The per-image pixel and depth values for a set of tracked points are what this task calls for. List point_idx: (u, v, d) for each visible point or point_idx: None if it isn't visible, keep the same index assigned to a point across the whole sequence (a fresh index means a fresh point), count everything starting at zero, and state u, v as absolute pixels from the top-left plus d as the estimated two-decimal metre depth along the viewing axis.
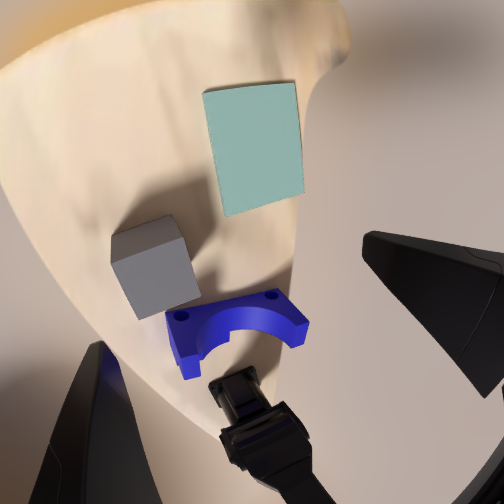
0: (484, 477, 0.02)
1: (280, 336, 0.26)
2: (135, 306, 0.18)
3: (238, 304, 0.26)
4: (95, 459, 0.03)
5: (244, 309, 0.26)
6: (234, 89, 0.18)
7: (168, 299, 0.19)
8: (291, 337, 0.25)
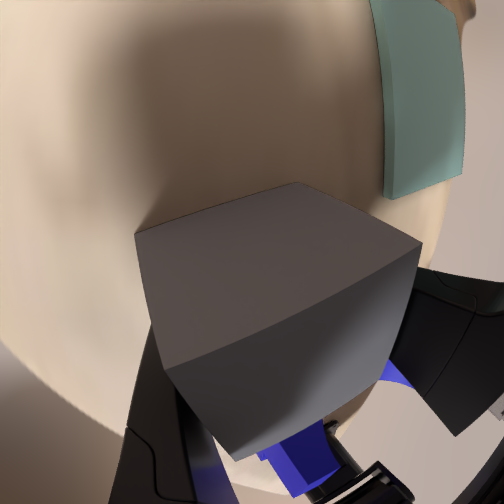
0: (484, 477, 0.02)
1: None
2: (236, 446, 0.05)
3: None
4: (183, 436, 0.04)
5: None
6: None
7: (321, 409, 0.06)
8: None
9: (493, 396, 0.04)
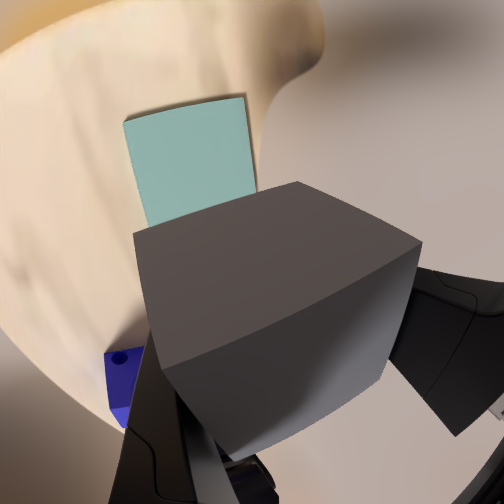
0: (484, 476, 0.02)
1: None
2: (234, 447, 0.05)
3: None
4: (183, 436, 0.04)
5: None
6: (161, 113, 0.14)
7: (321, 409, 0.06)
8: None
9: (493, 396, 0.04)
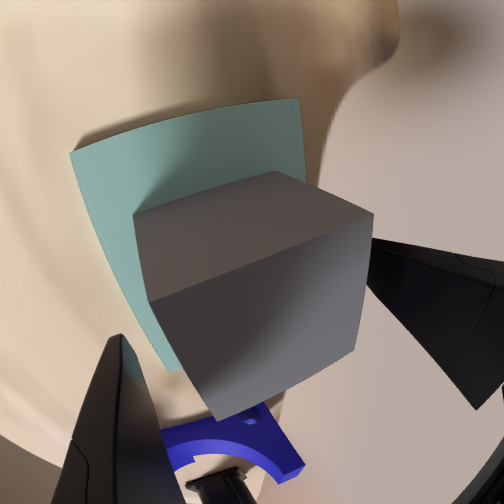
0: (484, 476, 0.02)
1: (263, 468, 0.14)
2: (215, 401, 0.06)
3: (198, 434, 0.14)
4: (121, 454, 0.04)
5: (207, 441, 0.14)
6: (143, 129, 0.07)
7: (295, 371, 0.07)
8: (278, 477, 0.13)
9: None
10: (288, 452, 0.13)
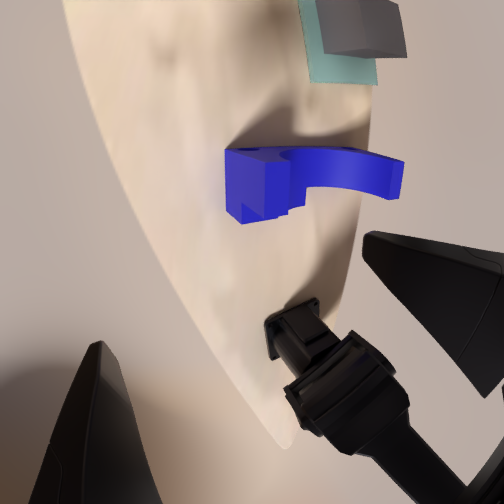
0: (484, 477, 0.02)
1: (370, 189, 0.20)
2: (367, 32, 0.12)
3: (316, 148, 0.20)
4: (96, 458, 0.03)
5: (324, 153, 0.20)
6: None
7: (388, 43, 0.13)
8: (387, 182, 0.18)
9: None
10: (388, 157, 0.19)
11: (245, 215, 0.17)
